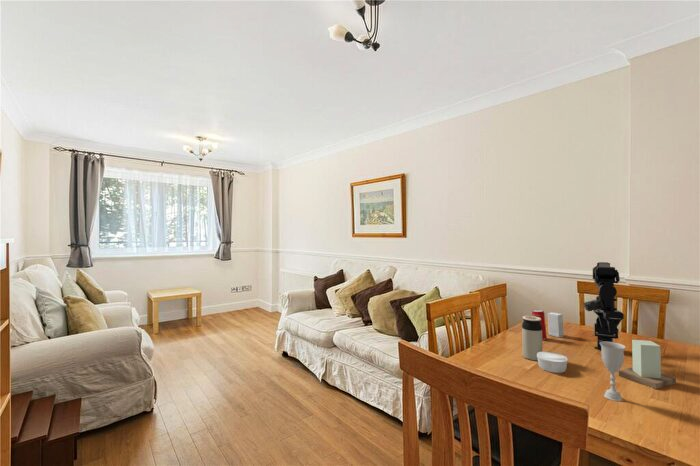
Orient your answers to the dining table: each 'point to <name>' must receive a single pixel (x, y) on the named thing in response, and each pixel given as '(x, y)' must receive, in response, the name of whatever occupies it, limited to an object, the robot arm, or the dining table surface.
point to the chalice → (612, 365)
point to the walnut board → (647, 379)
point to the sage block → (646, 358)
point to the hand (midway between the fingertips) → (607, 330)
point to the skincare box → (555, 324)
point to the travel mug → (531, 337)
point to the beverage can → (541, 315)
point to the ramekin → (552, 362)
